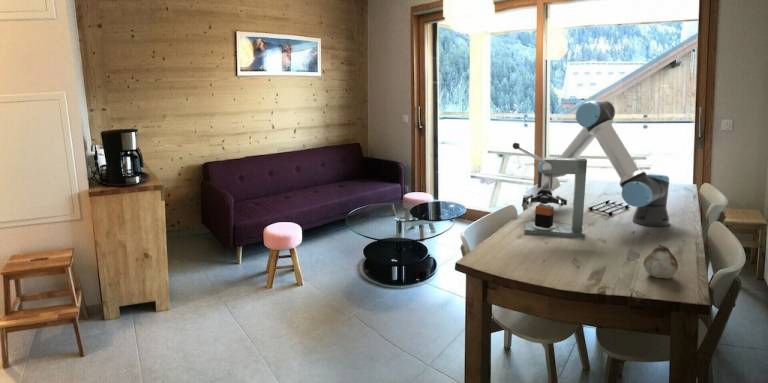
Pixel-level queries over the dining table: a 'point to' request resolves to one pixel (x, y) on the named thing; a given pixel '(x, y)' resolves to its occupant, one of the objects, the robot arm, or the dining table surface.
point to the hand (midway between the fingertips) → (544, 205)
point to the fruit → (661, 263)
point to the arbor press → (576, 228)
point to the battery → (544, 215)
